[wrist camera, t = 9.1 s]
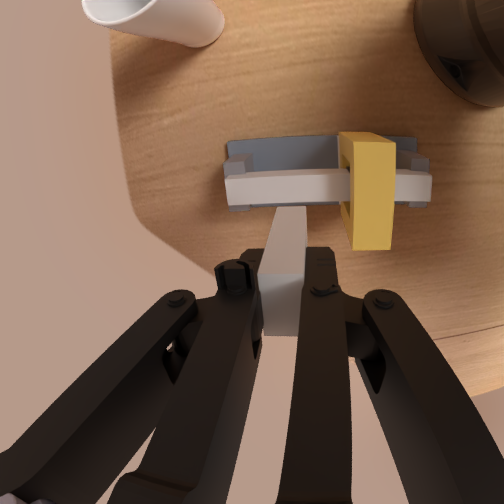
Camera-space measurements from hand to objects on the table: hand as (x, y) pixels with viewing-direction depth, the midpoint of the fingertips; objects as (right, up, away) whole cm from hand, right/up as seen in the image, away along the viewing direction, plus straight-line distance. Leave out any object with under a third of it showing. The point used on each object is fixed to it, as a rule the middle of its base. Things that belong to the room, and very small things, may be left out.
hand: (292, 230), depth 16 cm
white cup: (-7, +22, +8) cm, 24 cm away
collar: (+8, +6, +11) cm, 15 cm away
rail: (+5, +7, +13) cm, 16 cm away
